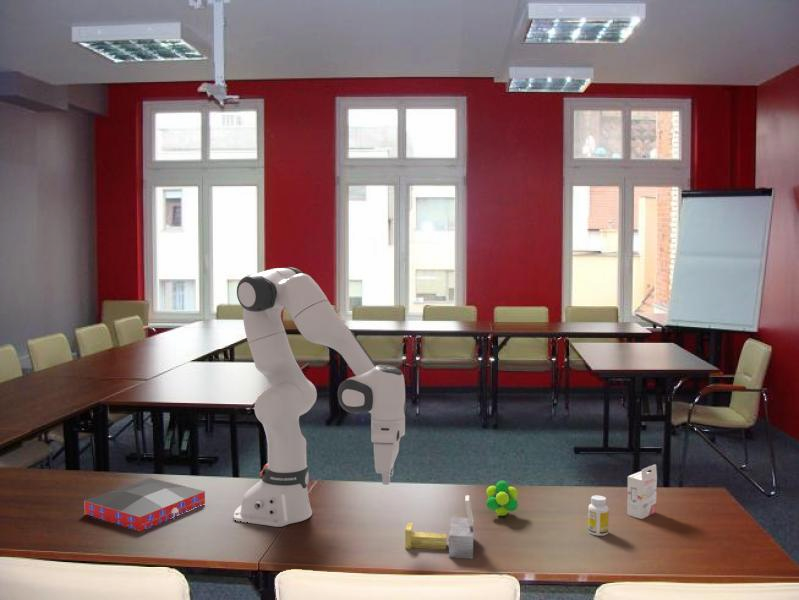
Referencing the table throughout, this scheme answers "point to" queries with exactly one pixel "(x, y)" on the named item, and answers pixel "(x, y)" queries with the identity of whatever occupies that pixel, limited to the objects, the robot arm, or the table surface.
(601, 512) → the supplement bottle
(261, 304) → the robot arm
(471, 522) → the bar
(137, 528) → the building model
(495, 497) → the molecule model
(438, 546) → the lynch pin
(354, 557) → the table surface
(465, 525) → the block
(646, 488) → the ink cartridge box
